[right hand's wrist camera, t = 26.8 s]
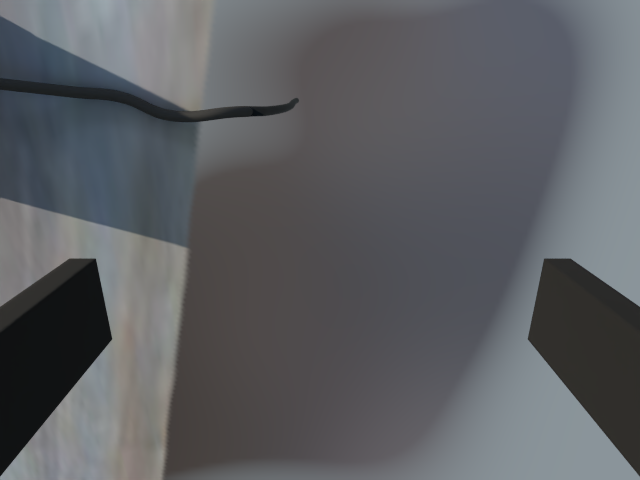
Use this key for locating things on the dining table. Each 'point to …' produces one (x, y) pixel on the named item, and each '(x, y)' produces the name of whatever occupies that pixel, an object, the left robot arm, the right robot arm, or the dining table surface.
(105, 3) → the dining table surface
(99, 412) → the dining table surface
